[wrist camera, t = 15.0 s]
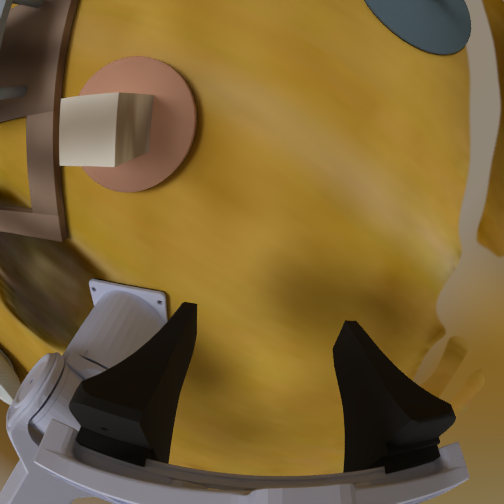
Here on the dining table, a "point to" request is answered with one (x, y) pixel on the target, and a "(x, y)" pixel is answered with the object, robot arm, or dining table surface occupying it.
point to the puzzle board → (37, 110)
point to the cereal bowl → (8, 379)
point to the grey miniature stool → (0, 8)
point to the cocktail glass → (426, 22)
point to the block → (104, 128)
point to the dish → (162, 123)
